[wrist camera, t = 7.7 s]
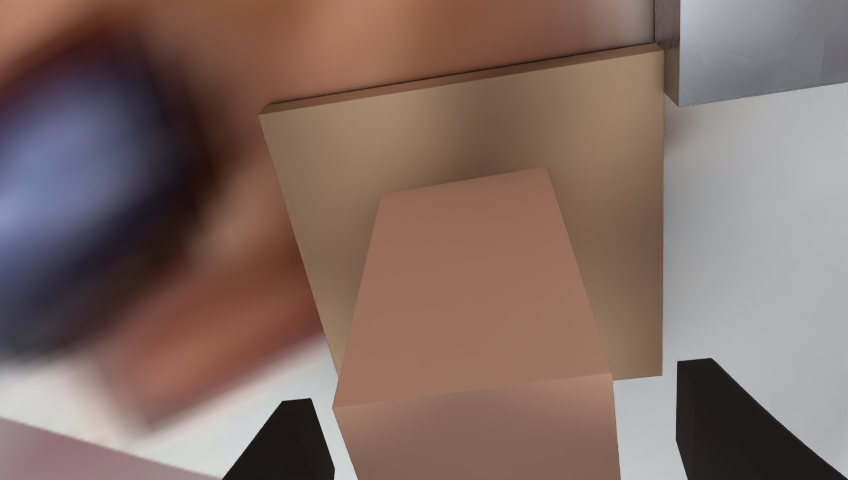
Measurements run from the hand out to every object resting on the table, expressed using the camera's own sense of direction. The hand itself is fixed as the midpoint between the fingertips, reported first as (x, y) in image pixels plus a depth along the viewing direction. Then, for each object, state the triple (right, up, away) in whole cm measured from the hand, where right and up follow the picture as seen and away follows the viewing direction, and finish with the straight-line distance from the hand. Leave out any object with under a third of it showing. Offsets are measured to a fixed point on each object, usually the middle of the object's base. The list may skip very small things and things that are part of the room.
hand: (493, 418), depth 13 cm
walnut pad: (0, +3, +6) cm, 7 cm away
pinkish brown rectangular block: (0, +3, +5) cm, 6 cm away
